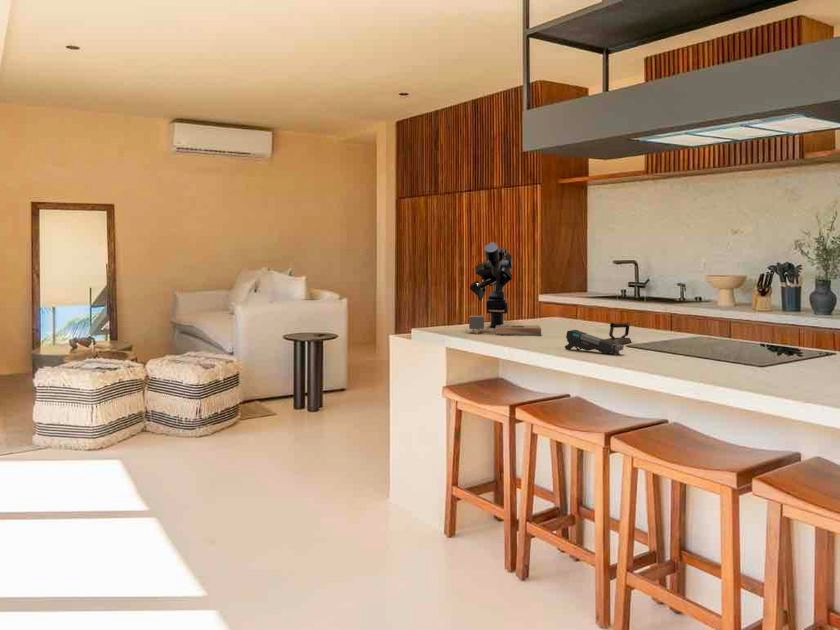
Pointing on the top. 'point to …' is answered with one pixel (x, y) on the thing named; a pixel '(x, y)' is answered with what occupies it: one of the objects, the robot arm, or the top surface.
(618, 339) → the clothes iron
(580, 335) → the gun
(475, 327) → the dark grey block
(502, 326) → the socket box
